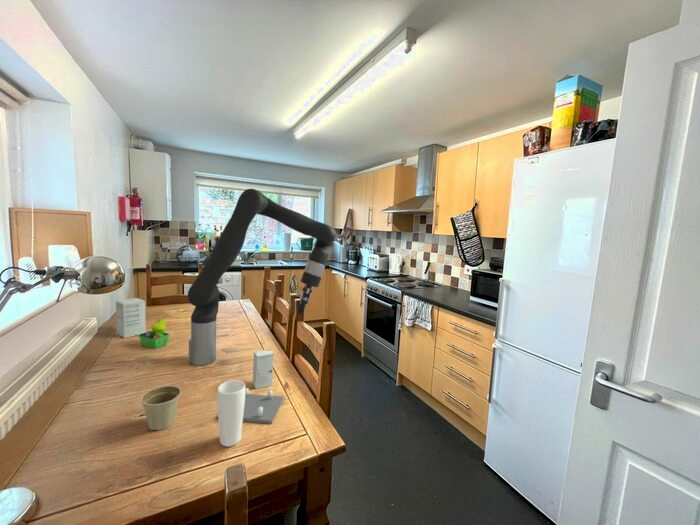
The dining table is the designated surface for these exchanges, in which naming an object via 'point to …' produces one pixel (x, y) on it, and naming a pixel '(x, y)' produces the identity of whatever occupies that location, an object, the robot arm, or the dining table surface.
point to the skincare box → (262, 368)
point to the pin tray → (261, 407)
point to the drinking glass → (230, 411)
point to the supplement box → (130, 317)
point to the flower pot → (161, 406)
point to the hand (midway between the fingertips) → (299, 312)
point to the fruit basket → (155, 336)
